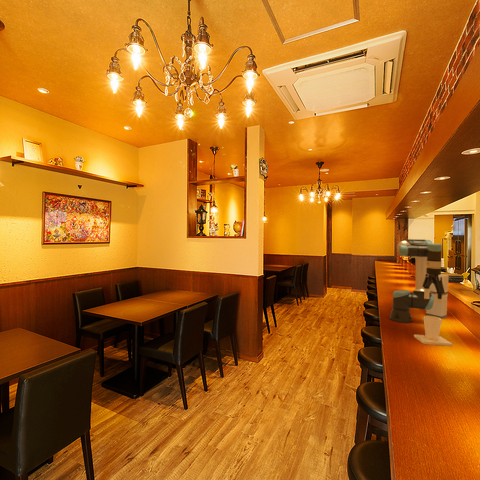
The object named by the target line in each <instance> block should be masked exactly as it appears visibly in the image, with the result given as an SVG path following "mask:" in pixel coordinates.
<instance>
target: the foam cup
mask: <svg viewBox="0 0 480 480" xmlns="http://www.w3.org/2000/svg"><path fill="white" fill-rule="evenodd" d="M442 320H443V319H440V318H438V317H433V316H426V315H424V316H423V320H422V321H423V325H424V327H423V328H424V335H426V338H427V339H430V340H438V337H439V336H440V331H441V327H442V323H443V322H442Z"/></svg>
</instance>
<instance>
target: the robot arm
mask: <svg viewBox="0 0 480 480" xmlns="http://www.w3.org/2000/svg"><path fill="white" fill-rule="evenodd" d="M442 246H443V245H442V244H441V243H434V242H433V241H431V239H425V238H424V239H419V238H418V239H413V238H411V239H410V238H409V239H408V238H407V239H404V240H401V241H399V242H397V244H396V249H397V251H398V255H399V256H401V257H413V258H415V287H414V288H415V289H413V291H412V292H411V291H410V290H405V289H399V290H394V291H393V292H392V309H391V311H390V313H389V319H390V320H392V321H393V322H398V323H405V324H407V323H412V321H413V317H412V315H411V312H410V310H411V309H417V310H418V309H419V310H425V311H426V310H430V309H432V307H433V303H434V295H431V292H430V285H431V284H432V283H433V284H434V285H435V288H436V291H437V292H436V304H441V303H442V294H443V293H445V292H444V287H443V283H442V277H438V275H440V274H442V257H443V256H442V253H443V247H442Z"/></svg>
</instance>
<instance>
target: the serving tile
mask: <svg viewBox="0 0 480 480" xmlns="http://www.w3.org/2000/svg"><path fill="white" fill-rule="evenodd" d="M413 338H415V339H416V340H418V342H420V343H422V344H424V345H430V346H431V345H433V346H434V345H435V346H445V347H453V343H452V342H451V341H448V340H447V339H446V338H444V337H443V336H441V335H439V337H438V340H430V339H427V338H426V335H425V334H413Z"/></svg>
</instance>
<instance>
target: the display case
mask: <svg viewBox="0 0 480 480" xmlns="http://www.w3.org/2000/svg"><path fill="white" fill-rule="evenodd" d="M438 277H442V283H443V287H444V292H445V293H443V294H442V303H441V304H436V292H437V291H436V288H435V285H434V284H433V283H432V284H431V285H430V292H431V295H434V303H433V307H432V309H430V310H425V316H433V317H438V318H440V319H442V320H444V319H446V318H447V317H448V314H447V313H448V312H447V311H448V309H447V308H448V296H449V274H442V273H441V274H440V275H438Z"/></svg>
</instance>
